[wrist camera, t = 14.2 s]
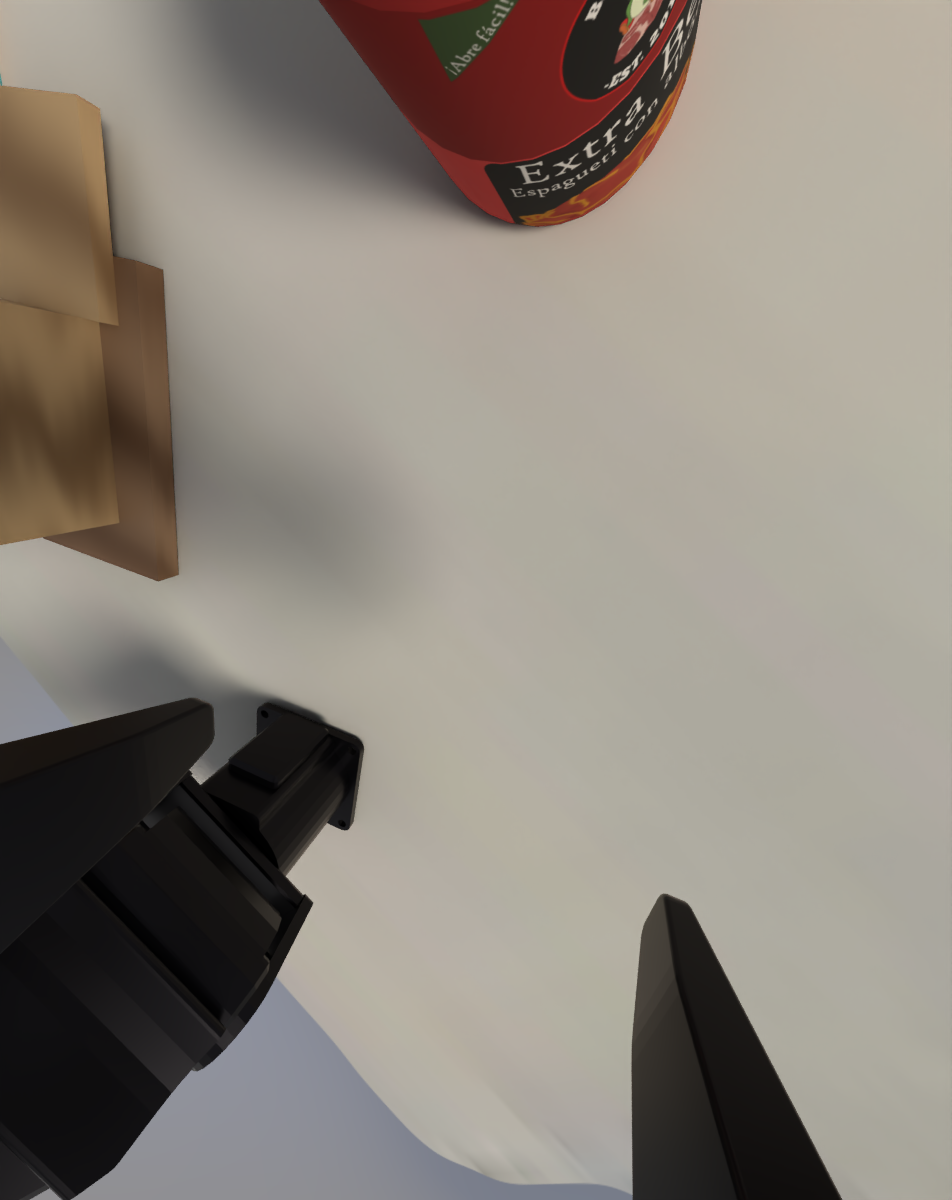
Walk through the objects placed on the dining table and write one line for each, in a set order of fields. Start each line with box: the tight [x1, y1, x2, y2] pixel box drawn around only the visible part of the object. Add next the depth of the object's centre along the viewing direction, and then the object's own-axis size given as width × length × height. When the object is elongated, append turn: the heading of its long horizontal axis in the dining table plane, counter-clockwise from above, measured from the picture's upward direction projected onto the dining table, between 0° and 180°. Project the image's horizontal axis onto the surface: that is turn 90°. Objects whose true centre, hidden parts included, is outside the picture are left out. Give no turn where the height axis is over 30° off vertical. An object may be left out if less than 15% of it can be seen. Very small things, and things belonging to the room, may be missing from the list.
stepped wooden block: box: [0, 86, 119, 545], centre depth 18 cm, size 16×6×5 cm, turn 168°
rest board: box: [4, 256, 178, 581], centre depth 23 cm, size 14×8×1 cm, turn 168°
